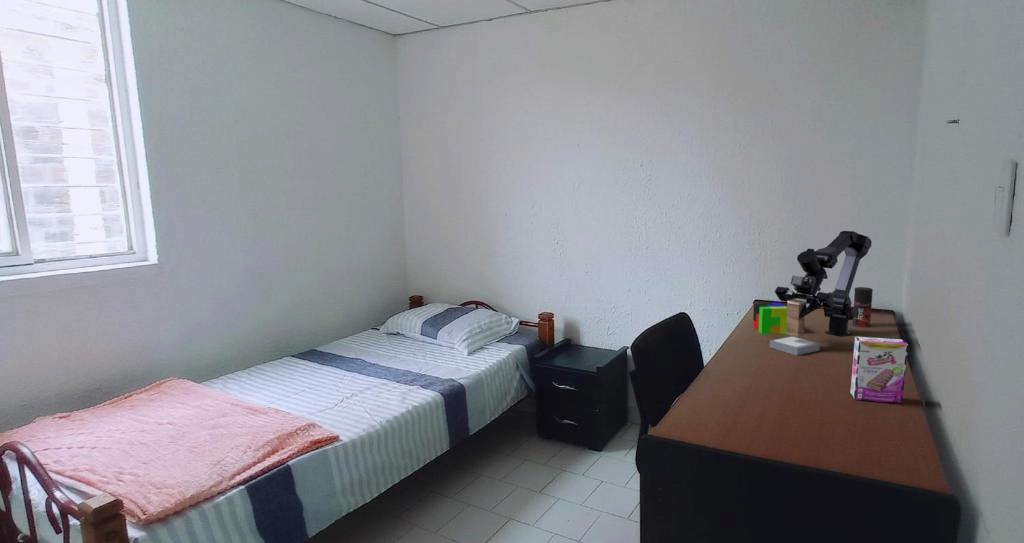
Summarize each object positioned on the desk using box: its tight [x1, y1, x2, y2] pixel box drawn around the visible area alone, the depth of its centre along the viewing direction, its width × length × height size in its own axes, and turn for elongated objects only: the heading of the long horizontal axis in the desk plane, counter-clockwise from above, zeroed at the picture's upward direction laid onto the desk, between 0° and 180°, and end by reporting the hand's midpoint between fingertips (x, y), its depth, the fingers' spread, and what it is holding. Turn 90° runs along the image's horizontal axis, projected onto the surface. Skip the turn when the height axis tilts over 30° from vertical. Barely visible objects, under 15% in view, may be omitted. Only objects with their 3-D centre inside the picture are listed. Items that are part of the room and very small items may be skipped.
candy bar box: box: [850, 336, 909, 403], centre depth 145 cm, size 11×5×16 cm, turn 71°
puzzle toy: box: [752, 302, 787, 335], centre depth 215 cm, size 10×10×10 cm
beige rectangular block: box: [785, 299, 806, 338], centre depth 190 cm, size 4×4×12 cm
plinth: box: [769, 335, 821, 356], centre depth 191 cm, size 11×11×3 cm
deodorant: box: [852, 286, 873, 329], centre depth 217 cm, size 6×6×15 cm
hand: (793, 316), depth 189 cm, fingers closed on beige rectangular block, 4 cm apart
